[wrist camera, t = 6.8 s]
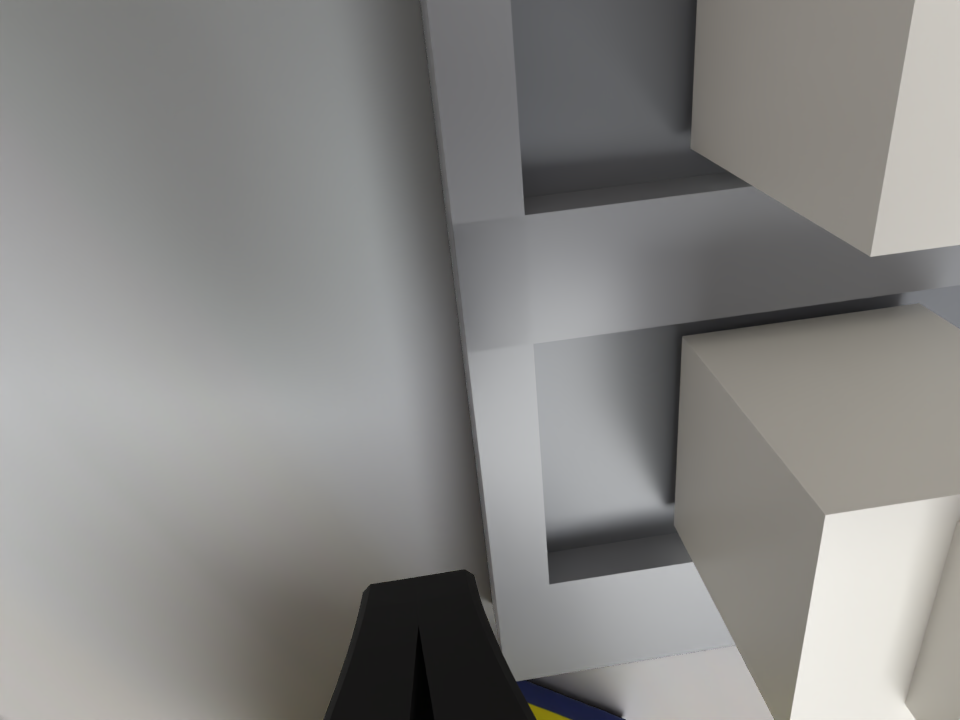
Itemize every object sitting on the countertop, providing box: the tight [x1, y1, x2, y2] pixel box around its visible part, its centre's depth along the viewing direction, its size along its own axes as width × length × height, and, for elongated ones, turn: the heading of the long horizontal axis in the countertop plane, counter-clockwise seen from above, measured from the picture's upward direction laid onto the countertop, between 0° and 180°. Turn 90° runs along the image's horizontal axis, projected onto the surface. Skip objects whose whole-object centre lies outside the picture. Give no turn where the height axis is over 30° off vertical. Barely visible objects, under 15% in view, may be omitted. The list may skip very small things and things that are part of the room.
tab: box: [674, 303, 960, 720], centre depth 11 cm, size 4×4×5 cm
